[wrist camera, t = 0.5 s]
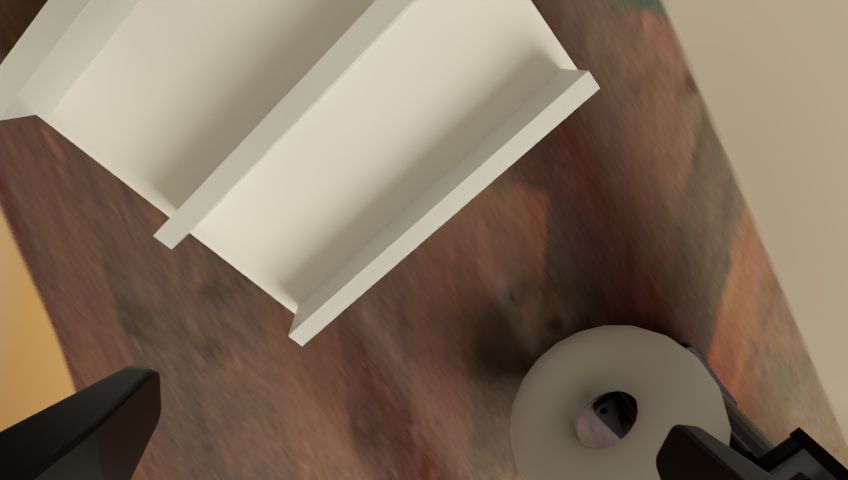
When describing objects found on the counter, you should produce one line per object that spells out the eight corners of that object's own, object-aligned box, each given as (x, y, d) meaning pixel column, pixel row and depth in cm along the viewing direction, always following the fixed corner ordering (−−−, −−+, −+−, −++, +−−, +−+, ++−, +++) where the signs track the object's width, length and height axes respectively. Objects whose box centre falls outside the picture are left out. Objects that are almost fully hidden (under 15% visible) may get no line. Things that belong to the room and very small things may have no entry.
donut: (510, 412, 26) (579, 603, 17) (478, 380, 25) (533, 568, 16) (651, 320, 24) (813, 478, 15) (623, 281, 23) (781, 427, 14)
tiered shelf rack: (571, 75, 18) (611, 78, 15) (307, 310, 22) (294, 352, 19) (335, -270, 14) (320, -372, 10) (43, 102, 17) (-36, 112, 14)
